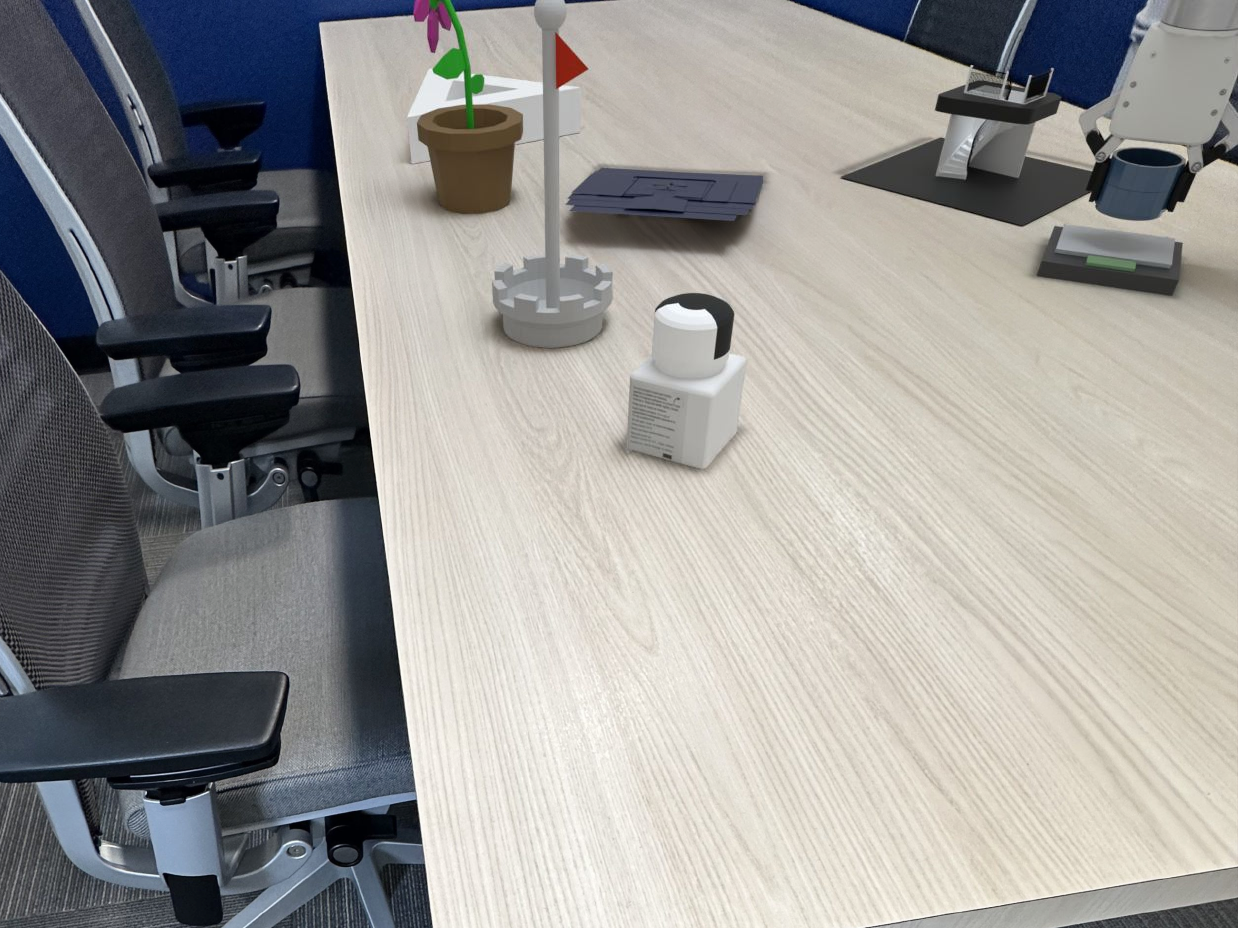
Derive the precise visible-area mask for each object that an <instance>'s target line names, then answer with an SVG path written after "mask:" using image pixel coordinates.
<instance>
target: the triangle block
mask: <svg viewBox="0 0 1238 928" xmlns="http://www.w3.org/2000/svg"><path fill="white" fill-rule="evenodd" d="M475 74H476V73H471V77H473V76H474V75H475ZM482 75H483V77H484V86H483V91H482V92H480V93H478V94H474V93H472V101H473V105H480V104H490V105H496V106H503V107H509V108H512V109H514V110H516V111H518V112H520V113H521V114H523V134H522V138H521V140H519V141H517V142H515V146H516V145H520V144H521V145H522V144H526V143H531V142H536V141H542V140H544V130H543V82H541V81H532V80H525V79H516V78H509V77H503V76H502V77H501V76H493V75H485V74H482ZM457 105H466V100H465V84H464V71H463V72H462V73H461V74H460V76H459V77H458V78H455V79H445V78H443V77H441V76H438V75H436V74H434V73H433V68H430V67H429V68H428V69H427V72H426V74H425V77H424V78H423V81H422V83H421V85H420V88H419V90H418V92H417V93H416V96H415V99H414V100H413V102H412V105H411V106H410V108H409V109H410V110H409V112H408V114H407V116H406V122H407V131H408V142H409V152H410V161H411V165H415V164H421V163H425V162H430V157H429V152H428V147H427V146H426V145H424V144H423V143H422V142H420V141H419V140H418V130H417V122H418V120H419V118H420V116H421V115H423V114H425V113H428V112H430V111H433V110H436V109H438V108H445V107H451V106H457ZM579 133H581V87H579V86H572V85H566V84H564V85H563V86H561V87H559V137H563V136H568V135H574V134H579Z"/></svg>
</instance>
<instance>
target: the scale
mask: <svg viewBox="0 0 1238 928" xmlns="http://www.w3.org/2000/svg"><path fill="white" fill-rule="evenodd" d="M1183 244H1184V242H1181V241H1176V238H1175V237H1170V236H1169V237H1168V236H1160V235H1153V234H1146V233H1145V234H1144V233H1137V232H1129V231H1121V230H1114V229H1107V228H1099V227H1092V226H1091V227H1090V226H1084V225H1075V224H1068V223H1064V224H1063V226H1059V225H1054V226H1053V229H1052V231H1051V234H1050V237H1049V240H1048V242H1047V245H1046V248H1045V251H1044V253H1043V256H1042V259H1041V262H1040V265H1039V267H1038V271H1037V274H1036V277H1040V278H1047V279H1053V280H1061V281H1066V282H1074V283H1081V284H1086V285H1094V286H1101V287H1107V288H1113V289H1121V290H1128V291H1135V292H1140V293H1148V294H1154V295H1155V294H1157V295H1163V296H1168V297H1172V296H1173V294H1174V293H1175V290H1176V287H1177V285H1178V284H1179V281H1180V273H1181V264H1182V254H1183V246H1184V245H1183Z"/></svg>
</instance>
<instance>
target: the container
mask: <svg viewBox="0 0 1238 928" xmlns="http://www.w3.org/2000/svg"><path fill="white" fill-rule="evenodd" d="M653 314H654V315H653V331H652V344H651V345H652V346H651V355H650V356H648V357H647V359H645V360H644V362H642V363H641V364H640V365H639V366H638V367H637V368H636V369H635V370H634V371H633V372H631V374H630V376H629V391H628V408H627V411H628V412H627V414H628V415H627V429H626V430H627V431H626V446H625V447H626V453H627V454H630V453H631V452H632V451H634V452H638V453H642V454H646V455H648V456H653V457H657V458H660V459H663V460H667V461H671V462H674V463H677V464H681V465H686V466H689V467H693V468H697V469H700V470H704V469H705V470H706V468H707V467H708V466H709V465H710V464H711V463H712V462H713V461H714V459H715V458H716V457H717V456H718V454H719V453H720V452H721V451H722V450H723V449H724V448H725V446H726V445H727V444H728V443H729V442H730V441H731V439H732V438H733V437H734V436H735V435H736V433H737V432H738V427H739V426H738V425H739V419H740V411H741V404H742V398H743V392H744V391H743V390H744V382H745V377H746V370H747V362H748V361H747V357H745V356H743V355H739V354H735V353H731V344H732V339H733V338H732V337H733V330H734V329H733V328H734V322H735V321H734V320H735V311H734V309H733V308H732V306H731V304H730V303H728V302H727V301H725V300H724V299H722V298H720V297H717V296H715V295H713V294H712V295H711V294H709V293H702V292H686V293H679V294H675V295H673V296H670V297H668V298H665V299H664V300H662V301H660V303H659V304H658V305H657V306H656V307H655V309H654V313H653Z"/></svg>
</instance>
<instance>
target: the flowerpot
mask: <svg viewBox="0 0 1238 928" xmlns="http://www.w3.org/2000/svg"><path fill="white" fill-rule="evenodd" d="M412 15H413V19H414V20H413V21H414V22H415V23H424V22H425V21H426V38H427V39H426V40H427V43H428V47H429V50H430V53H431V54H436V52H437V47H438V44H439V41H440V35H439V34H440V26H441V28H442V29H444V30H446V31H449V32H450V31H451V29H452V26H453V28H454V31H455V35H456V39H457V44H458V48H457V47H456V48H455V47H452V48H451V49H449V50H448V51H447V52H445V53H444V54H443V56H442V57H441V58H440V59H439V60H438V61H437V63H436V64H435V65H434V67H432V69H433V73H434V74H436V75H438V76H441V77H443V78H445V79H455V78H458V77H459V76H460V74H461V73H462V72H463V73H464V84H465V100H466V105H457V106H451V107H445V108H438V109H436V110H433V111H430V112H428V113H425V114H423V115H421V116H420V118H419V120H418V122H417V130H418V140H419V141H420V142H422V143H423V144H424V145H426V146H427V147H428V152H429V157H430V161H429V162H430V166H431V171H432V176H433V180H434V181H433V182H434V185H435V191H436V195H437V201H438V205H439V206H440V207H441V208H442V209H444V210H445V211H449V212H454V213H458V214H485V213H491V212H495V211H499V210H501V209H503V208H505V207H507V206H509V205H510V202H511V199H512V186H513V175H514V174H513V173H514V161H515V149H516V148H515V147H516V145H515V142H517V141H519V140H521V138H522V134H523V114H521V113H520V112H518V111H516V110H514V109H512V108H509V107H503V106H496V105H490V104H480V105H473V101H472V93H474V94H478V93H480V92H482V91H483V86H484V77H483V75H484V74H479V73H478V74H477V73H474V74H475V75H474V76H473V77H471V74H472V70H471V62H470V58H469V52H468V48H467V43H466V37H465V33H464V29H463V26H462V24H461V21H460V20H459V17H458V15H457V13H456V10H455V8H454V6H453V3H452V1H451V0H414V5H413V14H412ZM426 19H427V20H426Z"/></svg>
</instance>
